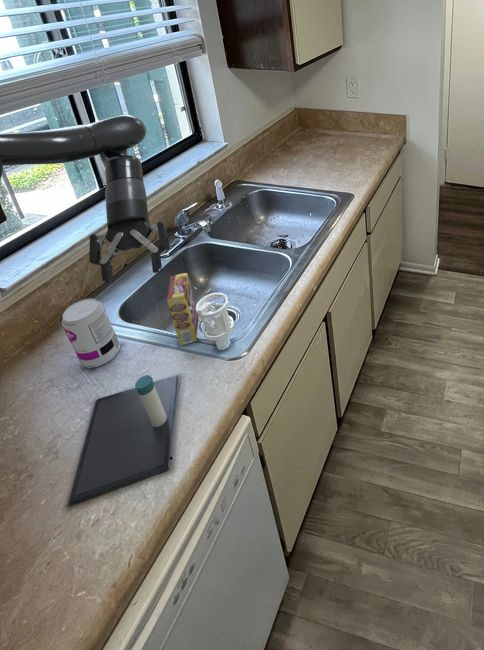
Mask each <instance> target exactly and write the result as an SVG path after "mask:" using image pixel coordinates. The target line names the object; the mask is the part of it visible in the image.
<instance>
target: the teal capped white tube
mask: <svg viewBox="0 0 484 650" xmlns="http://www.w3.org/2000/svg"><path fill="white" fill-rule="evenodd" d="M154 382H155V381H154V379H153V377H152V376H151V375H148V374H147V375H143V376H141V377H140V378H138V379H137V380H136V381H135V383H134V388H136V389H137V392H138V394H139V395H140V398H141V400H142V403H143V405H144V407H145V410H146V412H147V414H148V417H149V419H150V421H151V424H152V426H154V427H159V426H161V425H162V424H164V423H165V421H166V419H167V416H166V413H165V411H164V408H163V406H162V403H161V401H160V398H159V396H158V393H157V391H156V388H155V386H154Z"/></svg>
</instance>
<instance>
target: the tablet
mask: <svg viewBox="0 0 484 650" xmlns="http://www.w3.org/2000/svg"><path fill="white" fill-rule="evenodd" d="M178 379H179V378H178V375H172V376H171V377H170V376H169V377H167V378H163V379H160V380H157V381H153V382H154V386H155V388H156V391H157V393H158V396H159V398H160V401H161V403H162V406H163V408H164V411H165V413H166V416H167V419H166V421H165V423H164V424H162V425H161V426H159V427H154V426H152V424H151V421H150V419H149V417H148V414H147V412H146V410H145V407H144V405H143V403H142V400H141V398H140V395H139V394H138V392H137V389H136V387H133V388H130V389H127V390H124V391H119V392H117V393H114V394H111V395H107V396H103V397H100V398H97V399H96V400H95V404H94V406H93V407H94V408H93V411H92V415H91V419H90V422H89V426H88V430H87V433H86V437H85V440H84V444H83V449H82V451H81V455H80V459H79V463H78V467H77V470H76V473H75V478H74V481H73V486H72V489H71V493H70V497H69V501H68V504H69V505H70V506H72V505H75V504H79V503H81V502H84V501H87V500H90V499H92V498H95V497H98V496H100V495H104V494H106V493H109V492H112V491H114V490H117V489H119V488H123V487H125V486H128V485H131V484H133V483H137V482H140V481H143V480H145V479H148V478H151V477H153V476H156V475H159V474H161V473H164V472H167V471H170V467H171V466H170V465H171V456H172V455H171V454H172V444H173V434H174V423H175V413H176V412H175V411H176V402H177V392H178V391H177V390H178Z"/></svg>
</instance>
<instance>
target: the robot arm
mask: <svg viewBox="0 0 484 650" xmlns="http://www.w3.org/2000/svg"><path fill="white" fill-rule="evenodd" d="M145 125H146V124H144V122H143V121H142V120H141V119H139V118H138V117H135V116H133V115H128V114H127V115H126V114H122V115H117V116H116V115H115V116H113V117H112V116H111V117H108V118H105V119H102V120H101V119H100V120H97V121H94V122H91V123H87V124H76V125H71V126H65V127H57V128H49V129H41V130H33V131H23V132H9V133H8V132H5V133H0V180H1V179H2V177H3V173H4V167H6V166H7V167H8V166H21V165H23V166H24V165H57V164H66V163H72V162H77V161H81V160H85V159H90V158H94V157H96V156H99V158H100V161H101V163H102V165H103V167H104V176H105V177H104V178H105V191H104V195H105V196H104V198H105V211H106V225H107V229H106V233H104V234H103V233H102V234H93V233H92V234H91V235H89V252H88V253H89V256H88V257H89V259H88V261H89V263H90V264H93V265H95V266H96V265H98V266H100V271H101V280H102V281H103V282H105V284H113V283H114V275H113V273H114V272H113V264H112V262H113V260H114V259H115V258H116V257H117V256H118V255H119V253H120V252H121V251H123V252H127V251H130V250H131V249H140V248H141V247H142V246H144V247H145V248H146V249H147V250H149V251H150V252H151V254H150V259H151V269H152V273H154V274H157V273H159V272H160V270H162V267H163V265H162V257H161V255H162V253H163V252H165V251H168V250H170V249H171V245H170V240H169V234H168V229H167V225H166V223H164V222H163V221H161V220H160V221H158V222H157V223H153V224H150V221H149V211H148V196H147V191H146V187H145V183H144V172H143V165H142V161H141V160H140V159H139V157H137V156H135V155H129V154H128V150H129V149H131V148H133V147H135V146H136V145H138V144H140V143H142V142H143V140H144V139H145V137H146V135H147V128H146V126H145ZM152 231H153V232H154V233H156V234H157V235H158V239H159V245H157V246H156V245H155V244H154V243H153V242H152V241H151V240H150V239H148V238H149V237H150V235H151V234H152ZM106 240H107V241H108V242H109V243H110V244H109V245H108V246H107V248H106V250H105V252H104V254H103V255H102V246H103V245H104V244H105V241H106Z"/></svg>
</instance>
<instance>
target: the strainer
mask: <svg viewBox="0 0 484 650" xmlns="http://www.w3.org/2000/svg"><path fill="white" fill-rule="evenodd" d="M216 298H221V299H223V300H224V301H225V302H224V303H221V302H220V303H219V302H217V300H213V301H209V300H212V299H216ZM229 304H230V302H229V298H228V295H226V293H223V292H212V293H209V294H207V295H205V296H203V297H202V298H201V299H200V300H198V301H197V303H196V311H197V314H198V316H199V320H200V321H201V322H203V327H202V333H203V337H204V338H205V339H206V340H207V341H210V342H211V341H213V342H215V346H216V348H217V350H219V351H224V350H226V349H228V348H229V347H230V345H231V341H230V337H229V335H230V334H231V333H232V332H233V331H234V329H235V320H234V318H233V317H232V315H229V312H228V307H229Z"/></svg>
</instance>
